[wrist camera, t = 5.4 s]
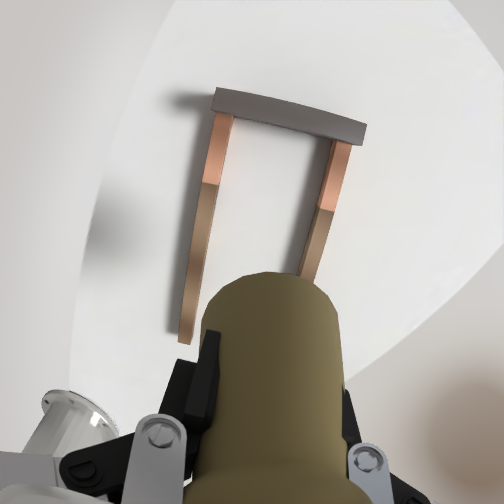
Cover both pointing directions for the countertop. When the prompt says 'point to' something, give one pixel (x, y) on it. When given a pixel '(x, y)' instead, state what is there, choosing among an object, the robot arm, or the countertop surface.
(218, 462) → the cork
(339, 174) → the guide channel
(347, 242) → the countertop surface
